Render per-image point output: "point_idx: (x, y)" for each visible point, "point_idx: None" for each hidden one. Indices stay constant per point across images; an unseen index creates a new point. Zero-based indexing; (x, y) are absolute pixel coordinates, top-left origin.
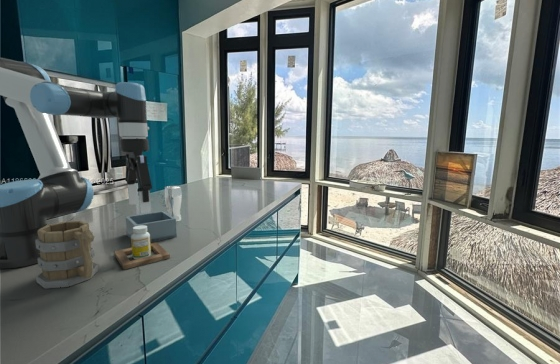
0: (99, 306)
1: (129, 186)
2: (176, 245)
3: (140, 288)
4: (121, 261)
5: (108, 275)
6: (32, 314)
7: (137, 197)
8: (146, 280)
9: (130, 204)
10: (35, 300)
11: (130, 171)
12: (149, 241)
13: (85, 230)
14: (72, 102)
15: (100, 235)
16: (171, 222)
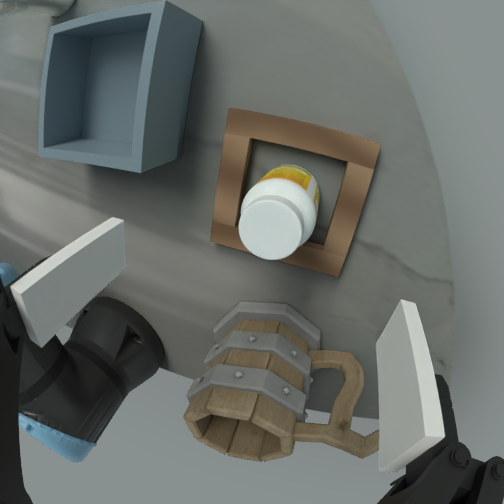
0: (431, 356)
1: (47, 334)
2: (286, 58)
3: (452, 294)
4: (305, 266)
5: (336, 304)
6: (360, 401)
7: (96, 244)
8: (438, 269)
9: (124, 264)
10: (321, 391)
11: (16, 467)
12: (309, 188)
13: (279, 417)
14: None
15: (61, 198)
16: (168, 22)
